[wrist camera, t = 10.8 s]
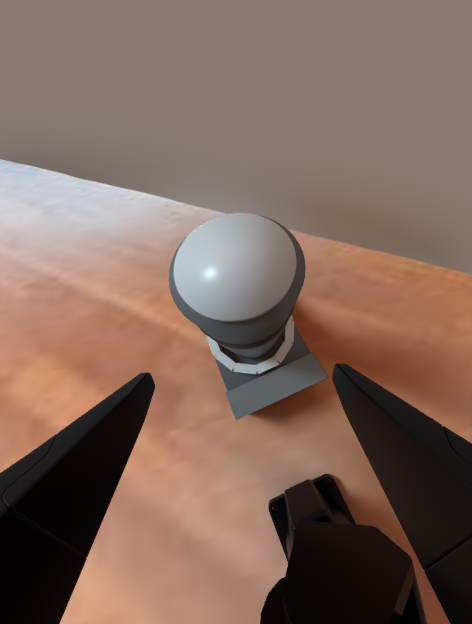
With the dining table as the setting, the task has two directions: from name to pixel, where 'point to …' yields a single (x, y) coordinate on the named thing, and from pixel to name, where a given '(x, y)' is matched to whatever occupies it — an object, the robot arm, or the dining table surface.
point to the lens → (238, 281)
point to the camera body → (267, 372)
